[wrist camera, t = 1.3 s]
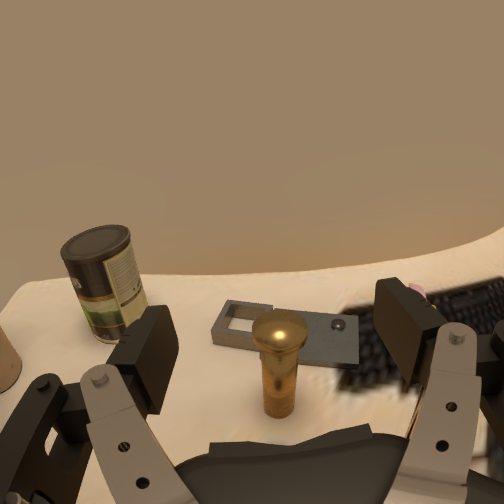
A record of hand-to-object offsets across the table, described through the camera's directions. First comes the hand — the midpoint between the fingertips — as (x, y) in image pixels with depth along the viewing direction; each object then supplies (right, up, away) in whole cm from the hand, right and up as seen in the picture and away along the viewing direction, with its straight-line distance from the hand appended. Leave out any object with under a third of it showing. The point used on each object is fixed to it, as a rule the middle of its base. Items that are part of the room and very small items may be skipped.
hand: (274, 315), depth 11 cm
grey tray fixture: (+4, -9, +27) cm, 29 cm away
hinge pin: (+2, -14, +18) cm, 23 cm away
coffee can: (-21, -9, +31) cm, 38 cm away
